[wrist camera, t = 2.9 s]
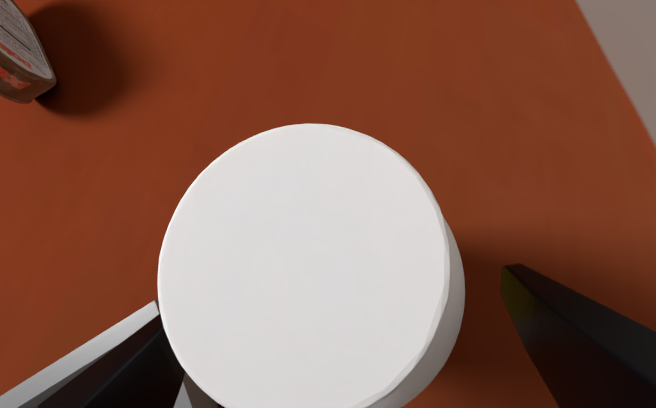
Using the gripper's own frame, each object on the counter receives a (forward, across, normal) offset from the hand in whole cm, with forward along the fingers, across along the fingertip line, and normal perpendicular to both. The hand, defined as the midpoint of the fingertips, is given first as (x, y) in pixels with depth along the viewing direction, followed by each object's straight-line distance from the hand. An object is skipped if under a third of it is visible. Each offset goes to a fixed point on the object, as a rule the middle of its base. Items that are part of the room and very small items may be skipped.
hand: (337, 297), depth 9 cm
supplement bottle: (+6, 0, +6) cm, 8 cm away
